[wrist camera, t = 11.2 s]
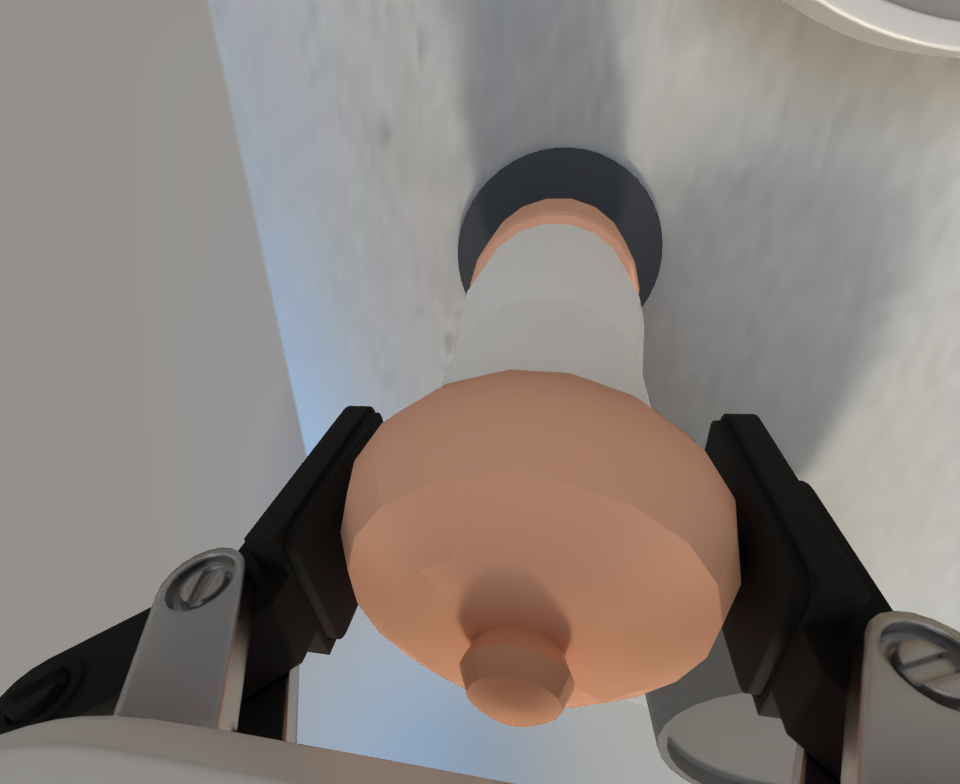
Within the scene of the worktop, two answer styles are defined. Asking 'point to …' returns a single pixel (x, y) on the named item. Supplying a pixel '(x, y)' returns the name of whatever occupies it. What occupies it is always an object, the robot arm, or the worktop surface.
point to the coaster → (566, 179)
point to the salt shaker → (544, 492)
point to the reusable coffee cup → (718, 728)
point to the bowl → (892, 23)
